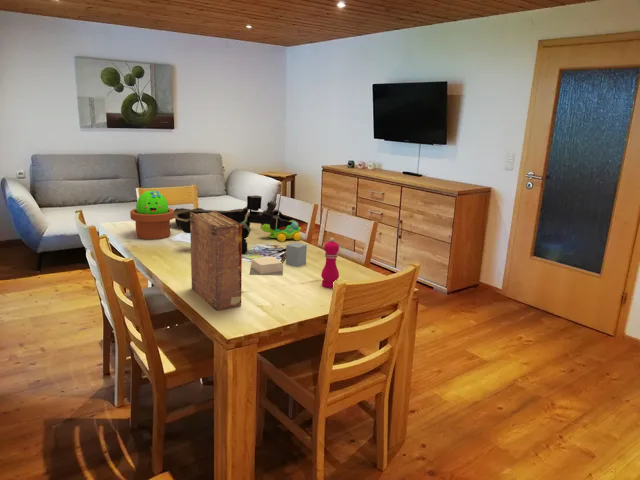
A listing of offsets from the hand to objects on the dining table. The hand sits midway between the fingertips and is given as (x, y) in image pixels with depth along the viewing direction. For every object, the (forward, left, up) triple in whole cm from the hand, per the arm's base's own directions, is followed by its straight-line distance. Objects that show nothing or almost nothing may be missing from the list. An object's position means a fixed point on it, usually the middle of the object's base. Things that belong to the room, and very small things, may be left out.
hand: (292, 221), depth 234 cm
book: (-29, -58, -17) cm, 67 cm away
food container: (-25, +46, -17) cm, 55 cm away
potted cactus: (-73, +29, -17) cm, 81 cm away
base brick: (-11, -28, -16) cm, 34 cm away
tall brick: (+2, -19, -17) cm, 25 cm away
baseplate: (-11, -28, -17) cm, 34 cm away
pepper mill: (+15, -44, -17) cm, 49 cm away
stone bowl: (-57, +54, -17) cm, 81 cm away
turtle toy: (-5, +31, -17) cm, 36 cm away
